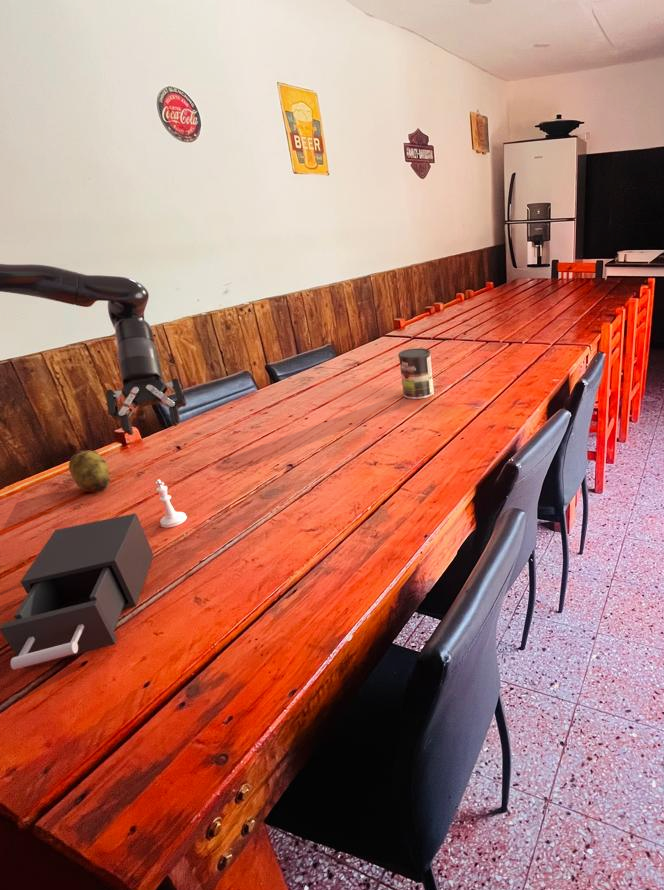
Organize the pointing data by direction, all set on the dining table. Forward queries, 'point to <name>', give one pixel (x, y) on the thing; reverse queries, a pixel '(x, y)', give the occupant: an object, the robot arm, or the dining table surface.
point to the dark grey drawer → (65, 617)
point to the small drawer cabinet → (96, 554)
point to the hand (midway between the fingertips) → (152, 429)
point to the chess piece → (169, 508)
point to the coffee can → (416, 373)
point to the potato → (89, 471)
